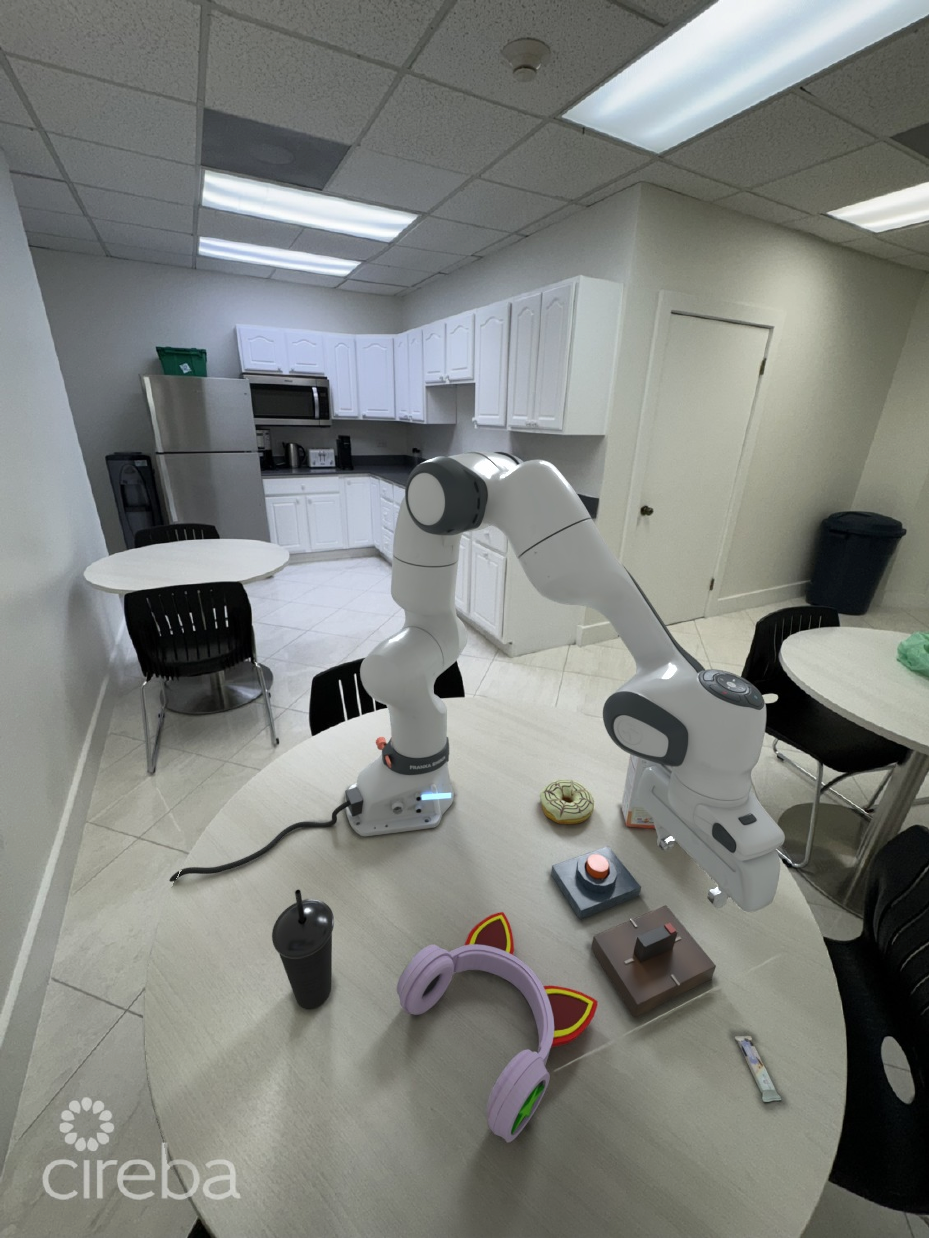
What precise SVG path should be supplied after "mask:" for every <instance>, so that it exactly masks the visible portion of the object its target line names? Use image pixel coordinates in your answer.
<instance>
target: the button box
mask: <svg viewBox="0 0 929 1238" xmlns="http://www.w3.org/2000/svg"><path fill="white" fill-rule="evenodd" d="M592 854H599V855H602V856H604V857H605V858H606V859H607V860H608V863H609V869H608V874H607V876H606V877H605V878H603V879H596V878H594V877H592V876H591V875H589V873H588V872H587V870H586V865H587V859H588V857H589V856H590V855H592ZM550 875H551V877H552V878H553V880H554V882H555V883H556V885H557V886H558V888H559V890H560V892H561V893H562V894H563V896H564V897H565V899H566V900H567V902H568V903H569V905H570V906H571V908H572V910H573V911H574V913H575V915H576V916H577V918H578V920H583V919H585V918H588V917H589V916H592V915H594V914H597V913H600V912H602V911H604V910H607V909H609V908H613V907H614V906H617V905H620V904H622V903H625V902H627V901H629V900H632V899H634V898H637V897H639V896H640V894H641V890H642V886H641V884H640V883H639V882H638V881H637V880H636V878H635V877H634V876H633V875H632V873H631V872H630V871H629V869H627V867H626V866H625V865H624V863H623V862H622V861H621V860H620V858H619V857H618V856H617V855H616V854H615V852H614V851H613V850H612V849H611V847H610V846H609V845H607V846H604V847H601V848H599V849H596V850H593V851H589V852H587V853H585V854H581V855H579V856H575V857H573V858H570V859H566V860H564V861H562V862H561V861H560V862H559V863H555V864H553V865H551V869H550Z"/></svg>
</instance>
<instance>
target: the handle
mask: <svg viewBox="0 0 929 1238" xmlns="http://www.w3.org/2000/svg"><path fill="white" fill-rule="evenodd" d="M677 933H678V932H677V931H676V929H675V928H674V927H673V926H672V925H671V923H668V924H665V925H663V926H661V927H658V928H656V929H654V930H652V931H649V932H647V933H645V934H643V935H640V936H638V937H637V940H636V944H635V948H634V954H635V955H636V957H637V958H638V960H639V961H640V963H641V962H644V961H646V960H648V959H650V958H652V957H654V956H657V955H659V954H661V953H663V952H665V951H667V950H670V949H672V948H673V947H674V943H675V940H676V937H677Z"/></svg>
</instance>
